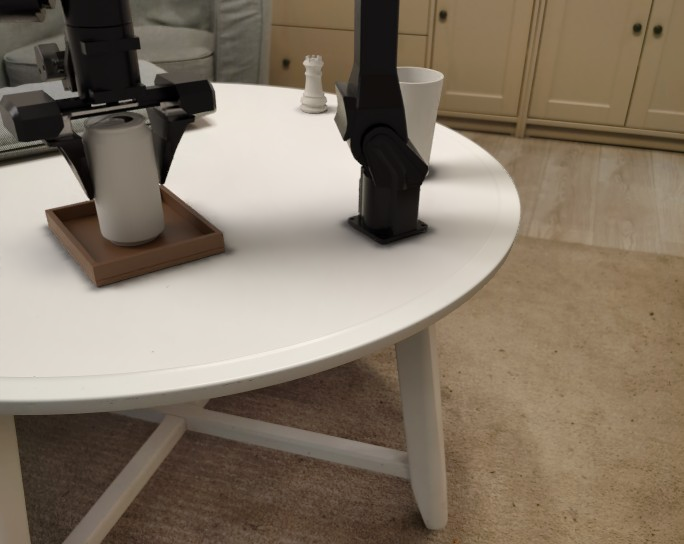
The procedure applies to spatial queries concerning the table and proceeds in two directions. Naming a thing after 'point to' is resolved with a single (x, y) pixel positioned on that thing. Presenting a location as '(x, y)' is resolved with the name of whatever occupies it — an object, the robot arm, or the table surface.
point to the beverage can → (124, 177)
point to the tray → (129, 261)
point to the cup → (421, 105)
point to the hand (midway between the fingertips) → (126, 190)
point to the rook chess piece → (313, 86)
